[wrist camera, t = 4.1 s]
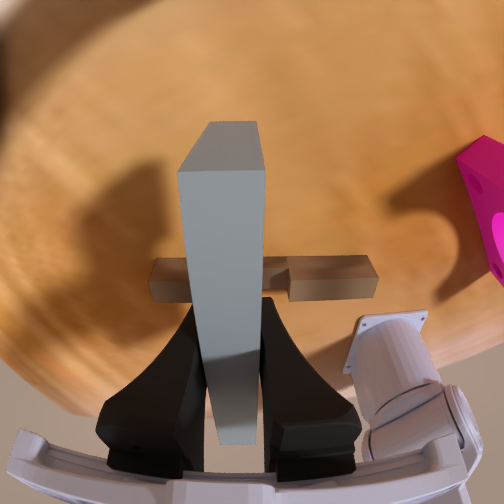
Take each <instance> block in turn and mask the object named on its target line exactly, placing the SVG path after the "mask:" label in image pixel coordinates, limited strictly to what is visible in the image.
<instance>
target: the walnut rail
mask: <svg viewBox="0 0 504 504" xmlns="http://www.w3.org/2000/svg"><path fill="white" fill-rule="evenodd" d="M378 279H379V277H378V275H377V273H376V271H375V269H374V267H373V266H372V264H371V262H370V260H369V258H368V256H367V255H355V256H293V257H263V274H262V289H287V293H288V299H289V302H293V301H320V300H342V299H360V298H373V296H374V293H375V289H376V286H377V283H378ZM148 284H149V288H150V292H151V296H152V299H153V302H170V303H193V301H192V294H191V287H190V280H189V273H188V266H187V258H157V259H156V262H155V264H154V267H153V270H152V272H151V275H150V278H149V280H148Z"/></svg>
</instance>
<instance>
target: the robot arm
mask: <svg viewBox="0 0 504 504" xmlns="http://www.w3.org/2000/svg"><path fill="white" fill-rule="evenodd" d="M427 316H428V312H427V310H419V311H409V312H399V313H388V314H377V315H365V316H362V317H361V318H360V320H359V323H358V326H357V329H356V332H355V335H354V338H353V341H352V344H351V347H350V350H349V353H348V356H347V359H346V361H345V364H344V367H343V370H342V372H343V374H351V376H352V380H353V384H354V387H355V391H356V395H357V399H358V403H359V407H360V411H361V414H362V416H363V418H364V419H365V420H366V421H367V422H368V423H369V425H370V429H369V430H367V431H366V432H365V434H364V437H363V441H362V457H363V461H364V462H361V463H356V464H355V459H354V455H353V453H354V452H355V447H354V441H355V440H356V439H357V437H358V436H359V435H360V433H361V431H362V426H361V422H360V419H359V416H358V414H357V411H356V409H355V407H354V405H353V404H351V403H350V402H349V401H348V400H346V399H345V398H344V397H342V396H341V395H340V394H339V393H338V392H336V391H335V390H334V389H333V388H332V387H331V386H330V385H329V384H328V383H327V382H326V381H325V380H324V379H323V378H322V377H321V376H320V375H319V374H318V373H317V372H316V371H315V370H314V369H313V367H312V366H311V365H310V364H309V363H308V361H307V360H306V359H305V358H304V356H303V355H302V354H301V352H300V351H299V349H298V348H297V346H296V345H295V343H294V342H293V340H292V339H291V337H290V335H289V334H288V332H287V330H286V328H285V326H284V325H283V323H282V321H281V319H280V317H279V314H278V312H277V310H276V307H275V304H274V301H273V299H272V298H271V297H262V305H261V333H260V360H259V373H260V381H261V388H262V397H263V424H264V465H265V466H264V467H265V473H211V472H204V417H205V398H206V389H207V382H206V376H205V371H204V366H203V360H202V355H201V349H200V344H199V338H198V332H197V326H196V320H195V314H194V307H193V303H192V305H191V307H190V309H189V311H188V313H187V315H186V317H185V318H184V320H183V322H182V323H181V325H180V326H179V328H178V330H177V331H176V333H175V334H174V335H173V337H172V338H171V340H170V341H169V342H168V344H167V345H166V346H165V348H164V349H163V350H162V351H161V353H160V354H159V355H158V356H157V357H156V358H155V360H154V361H153V362H152V363H151V364H150V365H149V366H148V367H147V368H146V369H145V370H144V371H143V372H142V373H141V374H140V375H139V376H138V377H137V378H135V379H134V380H133V381H132V382H131V383H129V384H128V385H127V386H126V387H125V388H123V389H122V390H121V391H119V392H118V393H116V394H115V395H114V396H112V397H111V398H109V399H108V400H106V401H105V403H104V405H103V407H102V409H101V412H100V414H99V418H98V421H97V425H96V429H95V430H96V433H97V435H98V436H99V438H100V439H101V440H102V441H103V442H104V443H105V444H106V445H107V446H108V447H109V448H110V450H109V454H108V459H105V458H101V457H96V456H92V455H88V454H84V453H80V452H77V451H73V450H69V449H66V448H62V447H59V446H56V445H53V444H50V443H49V442H48V441H47V440H46V439H45V438H43V437H42V436H40V435H38V434H36V433H33V432H30V431H27V430H25V429H22V428H20V429H19V431H18V434H17V437H16V439H15V443H14V446H13V448H12V452H11V455H10V458H9V461H8V465H7V468H6V472H7V473H9V474H10V475H11V476H13V477H15V478H16V479H18V480H19V481H21V482H23V483H24V484H26V485H28V486H30V487H31V488H33V489H35V490H37V491H39V492H42V493H44V494H47V495H49V496H52V497H54V498H57V499H59V500H62V501H65V502H67V503H70V504H471V500H470V497H469V494H468V491H467V488H466V486H465V483H466V481H467V480H468V479H469V477H470V475H471V474H472V472H473V471H474V469H475V468H476V466H477V464H478V463H479V461H480V459H481V457H482V449H483V443H482V440H481V437H480V435H479V430H478V426H477V423H476V420H475V418H474V415H473V413H472V411H471V408H470V406H469V404H468V402H467V400H466V398H465V396H464V394H463V393H462V391H461V390H460V389H459V387H458V386H455V385H452V384H449V385H447V386H446V387H445V386H444V385H443V383H442V381H441V378H440V376H439V374H438V371H437V369H436V367H435V365H434V363H433V360H432V358H431V356H430V354H429V352H428V350H427V348H426V346H425V344H424V341H423V339H422V337H421V335H420V333H419V332H420V330H421V328H422V326H423V324H424V322H425V320H426V318H427ZM463 448H464V450H463V451H462V452H461V449H463Z"/></svg>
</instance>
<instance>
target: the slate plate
mask: <svg viewBox="0 0 504 504" xmlns="http://www.w3.org/2000/svg"><path fill="white" fill-rule="evenodd" d="M177 177H178V188H179V198H180V208H181V217H182V226H183V234H184V243H185V251H186V258H187V266H188V273H189V280H190V287H191V294H192V301H193V307H194V314H195V320H196V326H197V332H198V338H199V344H200V349H201V355H202V360H203V366H204V371H205V376H206V382H207V387H208V392H209V397H210V402H211V406H212V411H213V416H214V420H215V425H216V429H217V434H218V438H219V442H220V445H256V430H257V408H258V384H259V360H260V333H261V305H262V274H263V241H264V205H265V166H264V160H263V155H262V149H261V144H260V138H259V133H258V128H257V122H256V121H220V122H210V123H209V124H208V126H207V127H206V128H205V130H204V131H203V133H202V134H201V136H200V137H199V139H198V140H197V142H196V143H195V145H194V146H193V148H192V149H191V151H190V153H189V154H188V156H187V157H186V159H185V160H184V162H183V164H182V165H181V167H180V168H179V170H178V171H177Z"/></svg>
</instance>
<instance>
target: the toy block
mask: <svg viewBox="0 0 504 504" xmlns="http://www.w3.org/2000/svg"><path fill="white" fill-rule="evenodd" d="M455 159H456V162H457V164H458V167H459V169H460V172H461V174H462V177H463V180H464V182H465V185H466V188H467V191H468V193H469V196H470V199H471V202H472V205H473V208H474V211H475V215H476V218H477V221H478V225H479V228H480V232H481V235H482V239H483V243H484V247H485V251H486V255H487V259H488V263H489V268H490V271H491V272H492V274H493V275H494V276H495V277H496V278H497V280H498V281H499V282H500V283H501V285H502V286H503V287H504V144H502V143H500V142H498V141H496V140H494V139H492V138H489V137H487V136H485V135H483V136H482V137H481V138H480V139H478V140H477V141H476V142H474V143H473V144H472V145H471V146H469V147H468V148H467V149H466V150H464V151H463V152H462V153H460V154H459V155H458V156H457V157H455Z"/></svg>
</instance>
